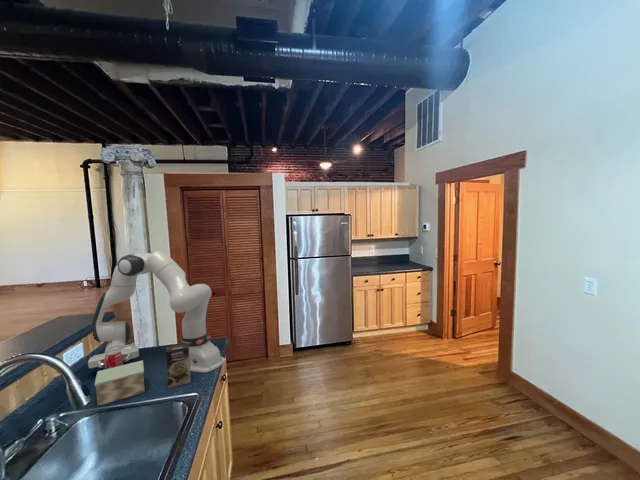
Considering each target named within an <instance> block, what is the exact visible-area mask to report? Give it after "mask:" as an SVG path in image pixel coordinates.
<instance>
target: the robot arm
mask: <svg viewBox="0 0 640 480" xmlns="http://www.w3.org/2000/svg"><path fill="white" fill-rule="evenodd" d="M149 273H153V274H154V276H155V277H156V278H157V279H158V280H159V282H160V283H162V284H163V286H164V287H165V288H166V290H167V292H168V294H169V298H170V299H169V306H170V308H171V310H172V311H173V312H175V313H179V314H181V313H182V314H183V313H185V314H184V317H183V318H182V320H181V330H182V331H181V332H182V336H181V344H186V343H189V358H190V372H192V373H193V372H194V373H203V374H204V373H209V372H213V371H214V370H216V369H218V368H220V367H221V366H223V365H224V364H225V363H226V362H227V360H226V358H225V357H223V356H221V351H220V349H219V348H218V346H215V344H214V343H213V342H212V341H210V339H211V335H209V334H208V332H207V325H206V319H207V318H206V317H207V310H208V307H209V306H208V305H209V301H210V299H211V297H212V289H211V286H209V285H208V284H205V283H197V284H193V285H189V283H188V281H187V279H186V278H187V274H186V272H185V271H184V270H183V269H182V267H180V266H179V265H178V263H176V261H175V260H174V259H173V258H172V257H170V256H169V255H168V254H167V253H165V252H164V251H162V250H157V251H154V252H136V253H132V254H126V255H124V256H122V257H121V258H119V260H118V262H117V265H116V266H115V267H114V270H113V273H112V276H111V282H110V287H109V288H108V290H107V291H105V292H104V293H102V295H101V296H100V298H99V301H98V303H97V306H96V309H95V311H94V315H93V318H92V320H91V321H92V322H91V323H92V326H93V328H94V331H93V336H94V339H95V340H96V341H98V342H97V343H101V342H107V343H108V342H109V343H108V344H107V343H106V345H107V346H106V345H105V350H104V353H101V354H95V355H92V356H93V357H92V356H91V357H90V358H89V359H88V361H87V365H88V366H87V367H88V368H89V369H94V368H99V369H102V368H105V362H104V358H105V356H106V353H107V352H109V351H112V350H120V352H121V353H122V356H123V363H126V362H128V361H129V360H132V359H135V358H138V357H140V351H139V347H138V345H136V344H135V342H129V340H130V338H131V325H130V324H129V322H127V321H124V320H123V321H121V320H120V321H103V318H104V315H105V313H106V310H107V309H108V307H110V306H112V305H115V304H118V303H121V302H124V301H127V300H128V299H130V298H131V297H132V296H134V295H135V294H134V293H135V291H136V286H137V279H138V276H140V275H145V274H149Z"/></svg>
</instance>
